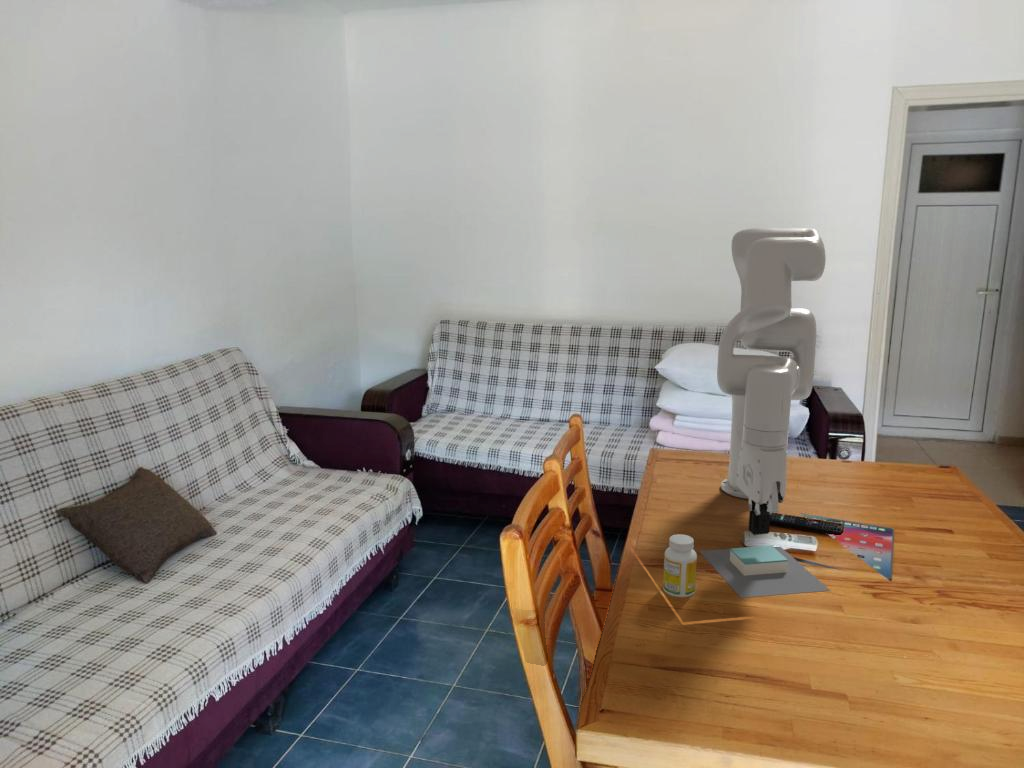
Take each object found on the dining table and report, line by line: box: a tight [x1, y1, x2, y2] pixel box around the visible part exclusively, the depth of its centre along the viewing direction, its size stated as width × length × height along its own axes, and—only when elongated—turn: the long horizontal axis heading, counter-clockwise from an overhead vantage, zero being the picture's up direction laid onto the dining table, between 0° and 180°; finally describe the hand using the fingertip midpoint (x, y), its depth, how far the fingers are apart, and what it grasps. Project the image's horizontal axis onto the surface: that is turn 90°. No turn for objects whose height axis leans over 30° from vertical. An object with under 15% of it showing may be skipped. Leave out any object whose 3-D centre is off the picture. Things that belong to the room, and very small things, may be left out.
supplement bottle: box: [662, 533, 698, 598], centre depth 126 cm, size 5×5×10 cm
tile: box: [729, 545, 788, 576], centre depth 135 cm, size 2×8×6 cm
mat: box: [699, 546, 831, 599], centre depth 134 cm, size 18×16×1 cm
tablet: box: [792, 512, 895, 582], centre depth 145 cm, size 19×25×1 cm
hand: (758, 532), depth 135 cm, fingers closed
